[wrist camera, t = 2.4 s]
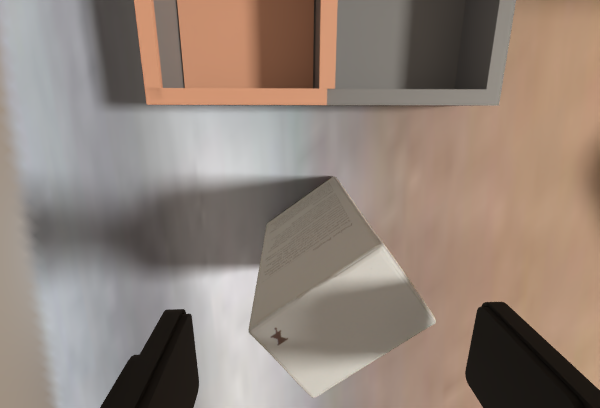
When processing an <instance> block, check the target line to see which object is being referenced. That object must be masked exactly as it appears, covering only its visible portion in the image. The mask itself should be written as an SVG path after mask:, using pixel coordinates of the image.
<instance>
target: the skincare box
mask: <svg viewBox="0 0 600 408" xmlns="http://www.w3.org/2000/svg"><path fill="white" fill-rule="evenodd" d="M435 323H436V319H435V318H434V316H433V314H432V313H431V311H430V310H429V308H428V307H427V305H426V304H425V302H424V301H423V299H422V298H421V296H420V295H419V293H418V292H417V290H416V289H415V287H414V286H413V284H412V283H411V281H410V280H409V279H408V277H407V276H406V274H405V273H404V271H403V270H402V268H401V267H400V266H399V264H398V263H397V261H396V260H395V259H394V257H393V256H392V254H391V253H390V252H389V250H388V249H387V248H386V246H385V245H384V243H383V242H382V241H381V239H380V238H379V237H378V236H377V234H376V233H375V232H374V230H373V229H372V227H371V226H370V225H369V223H368V222H367V220H366V219H365V218H364V216H363V215H362V213H361V212H360V210H359V209H358V207H357V206H356V205H355V203H354V202H353V200H352V199H351V197H350V196H349V195H348V193H347V192H346V190H345V189H344V188H343V186H342V185H341V183H340V182H339V181H338V179H337V178H336V177H331V178H330V179H329V180H327V181H326V182H325V183H323V184H322V185H320V186H319V187H318V188H316V189H315V190H313V191H312V192H310V193H309V194H308V195H306V196H305V197H303V198H302V199H301V200H299V201H298V202H297V203H295V204H294V205H292V206H291V207H289V208H288V209H287V210H285V211H284V212H283V213H281V214H280V215H278V216H277V217H275V218H274V219H273V220H271V221H270V222H268V223H267V225H266V231H265V237H264V243H263V249H262V255H261V260H260V267H259V272H258V278H257V285H256V290H255V296H254V302H253V307H252V313H251V319H250V325H249V333H250V334H251V335H252V336H253V337H254V338H255V339H256V340H257V341H258V342H259V343H260V344H261V345H262V346H263V347H264V348H265V349H266V350H267V351H268V352H269V353H270V354H271V355H272V356H273V357H274V358H275V360H276V361H277V362H278V363H279V364H280V365H281V366H282V367H283V368H284V369H285V370H286V371H287V372H288V373H289V374H290V375H291V377H292V378H293V379H294V380H295V381H296V382H297V383H298V384H299V385H300V386H301V387H302V388H303V389H304V390H305V391H306V392H307V393H308V394H309V395H310V396H311V397H312V398H315V397H317V396H319V395H320V394H322V393H323V392H325V391H326V390H328V389H329V388H331V387H333V386H334V385H336V384H337V383H339V382H341V381H342V380H344V379H346V378H347V377H349V376H350V375H352V374H353V373H355V372H357V371H358V370H360V369H362V368H363V367H365V366H367V365H368V364H370V363H371V362H373V361H375V360H376V359H378V358H380V357H381V356H383V355H384V354H386V353H388V352H389V351H391V350H392V349H394V348H396V347H397V346H399V345H400V344H402V343H404V342H405V341H407V340H409V339H410V338H412V337H413V336H415V335H417V334H418V333H420V332H422V331H423V330H425V329H427V328H428V327H430V326H432V325H434V324H435Z"/></svg>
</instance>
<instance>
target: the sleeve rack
mask: <svg viewBox="0 0 600 408" xmlns="http://www.w3.org/2000/svg"><path fill="white" fill-rule="evenodd" d="M515 3H516V0H134V5H135V13H136V21H137V29H138V38H139V46H140V54H141V62H142V70H143V78H144V87H145V95H146V103H147V105H425V106H480V105H499V101H500V95H501V89H502V83H503V77H504V71H505V65H506V58H507V52H508V46H509V40H510V34H511V28H512V22H513V16H514V10H515Z"/></svg>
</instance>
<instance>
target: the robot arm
mask: <svg viewBox="0 0 600 408" xmlns="http://www.w3.org/2000/svg"><path fill="white" fill-rule="evenodd" d="M465 374H466V380H467V383H468V384H469V386H470V388H471V389H472V391H473V392H474V394H475V395H476V397H477V399H478V400H479V402H480V403H481V405H482V406H483V408H600V390H599V389H598V388H597V387H595V386H594V385H593V384H592V383H591V382H590V381H589V380H588V379H587V378H586V377H585V376H584V375H582V374H581V373H580V372H579V371H578V370H577V369H576V368H575V367H574V366H573V365H572V364H571V363H570V362H568V361H567V360H566V359H565V358H564V357H563V356H562V355H561V354H560V353H559V352H558V351H557V350H556V349H554V348H553V347H552V346H551V345H550V344H549V343H548V342H547V341H546V340H545V339H544V338H543V337H541V336H540V335H539V334H538V333H537V332H536V331H535V330H534V329H533V328H532V327H531V326H530V325H529V324H527V323H526V322H525V321H524V320H523V319H522V318H521V317H520V316H519V315H518V314H517V313H516V312H515V311H513V310H512V309H511V308H510V307H509V306H508V305H507V304H506V303H504V302H485V303H483V305H482V307H479V308H478V310H477V314H476V319H475V324H474V330H473V335H472V340H471V345H470V350H469V356H468V361H467V366H466V372H465ZM198 388H199V377H198V368H197V359H196V350H195V342H194V333H193V324H192V316H191V314H186V312H185V310H184V309H176V310H165V311H164V313H163V314H162V316H161V318H160V320H159V322H158V323H157V325H156V327H155V329H154V330H153V332H152V334H151V336H150V337H149V339H148V341H147V343H146V344H145V346H144V348H143V350H142V352H141V353H140V355H133V356H132V357H131V358H130V359H129V360H128V362H127V364H126V365H125V367H124V369H123V370H122V372H121V374H120V375H119V377H118V379H117V380H116V382H115V384H114V385H113V387H112V389H111V390H110V392H109V394H108V395H107V397H106V399H105V400H104V402H103V404H102V405H101V407H100V408H193V407H194V404H195V400H196V397H197V393H198Z"/></svg>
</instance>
